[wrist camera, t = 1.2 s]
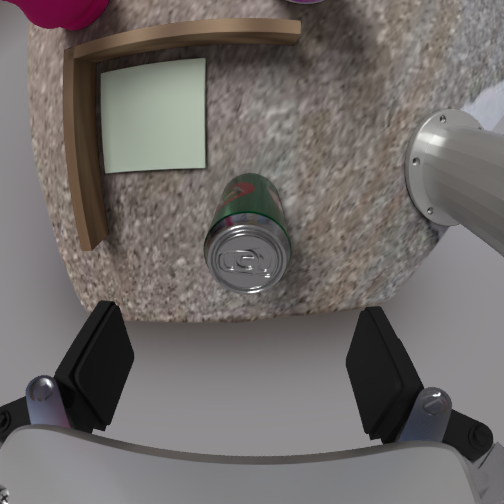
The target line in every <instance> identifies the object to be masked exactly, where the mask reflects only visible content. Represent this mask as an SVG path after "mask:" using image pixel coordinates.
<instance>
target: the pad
mask: <svg viewBox="0 0 504 504" xmlns="http://www.w3.org/2000/svg"><path fill="white" fill-rule="evenodd" d="M205 87H206V59H205V58H198V59H186V60H176V61H167V62H159V63H152V64H146V65H140V66H134V67H129V68H124V69H119V70H114V71H109V72H105V73H101V124H102V142H103V155H104V166H105V173H114V172H127V171H141V170H158V169H181V168H205V167H206V134H205Z"/></svg>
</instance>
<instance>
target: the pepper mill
mask: <svg viewBox="0 0 504 504" xmlns="http://www.w3.org/2000/svg"><path fill="white" fill-rule="evenodd" d="M0 1H8V2H10V3H13V4H16V5H17V6H18V7H20V9H21V10H22V11H23V12H24V14H25V15H26V17H27V18H28V19H29V20H30V21H31V22H32V23H33V24H35V25H37V26H39V27H42V28H46V29H53V28H58V27H61V28H64V29H67V30H79V29H82V28H84V27H86V26H88V25H90V24H91V23H92V22H94V21H95V20H96V19H97V18H98V17H99V16H100V15H101V14H102V13H103V11H104V10H105V8H106V6H107V4H108V2H109V0H0Z"/></svg>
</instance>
